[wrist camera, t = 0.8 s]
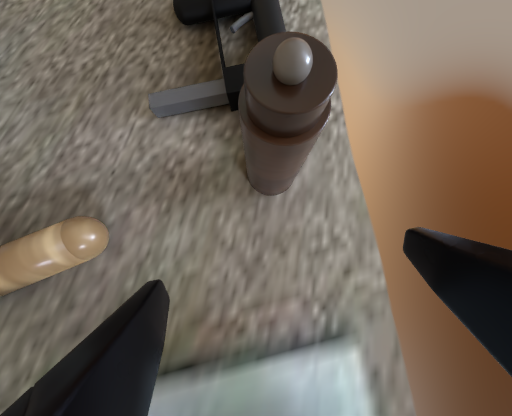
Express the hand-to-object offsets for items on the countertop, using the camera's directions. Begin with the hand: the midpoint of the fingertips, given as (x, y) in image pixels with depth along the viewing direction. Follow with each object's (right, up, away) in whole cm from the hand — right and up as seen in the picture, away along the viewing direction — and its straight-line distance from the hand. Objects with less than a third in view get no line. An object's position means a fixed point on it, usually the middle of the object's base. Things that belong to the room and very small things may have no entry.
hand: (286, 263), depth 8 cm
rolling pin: (-21, -3, +13) cm, 25 cm away
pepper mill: (0, +6, +14) cm, 15 cm away
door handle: (-4, +17, +16) cm, 24 cm away
